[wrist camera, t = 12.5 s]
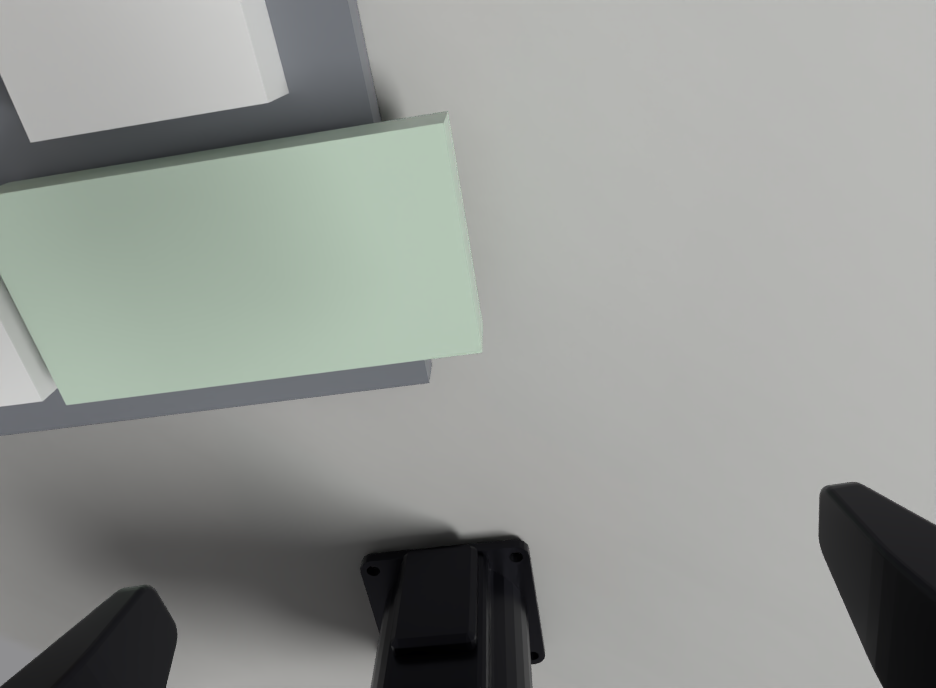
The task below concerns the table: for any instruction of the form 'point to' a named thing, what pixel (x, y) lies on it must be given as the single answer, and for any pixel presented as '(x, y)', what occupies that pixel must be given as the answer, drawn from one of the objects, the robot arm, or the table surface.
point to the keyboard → (169, 141)
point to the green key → (245, 262)
